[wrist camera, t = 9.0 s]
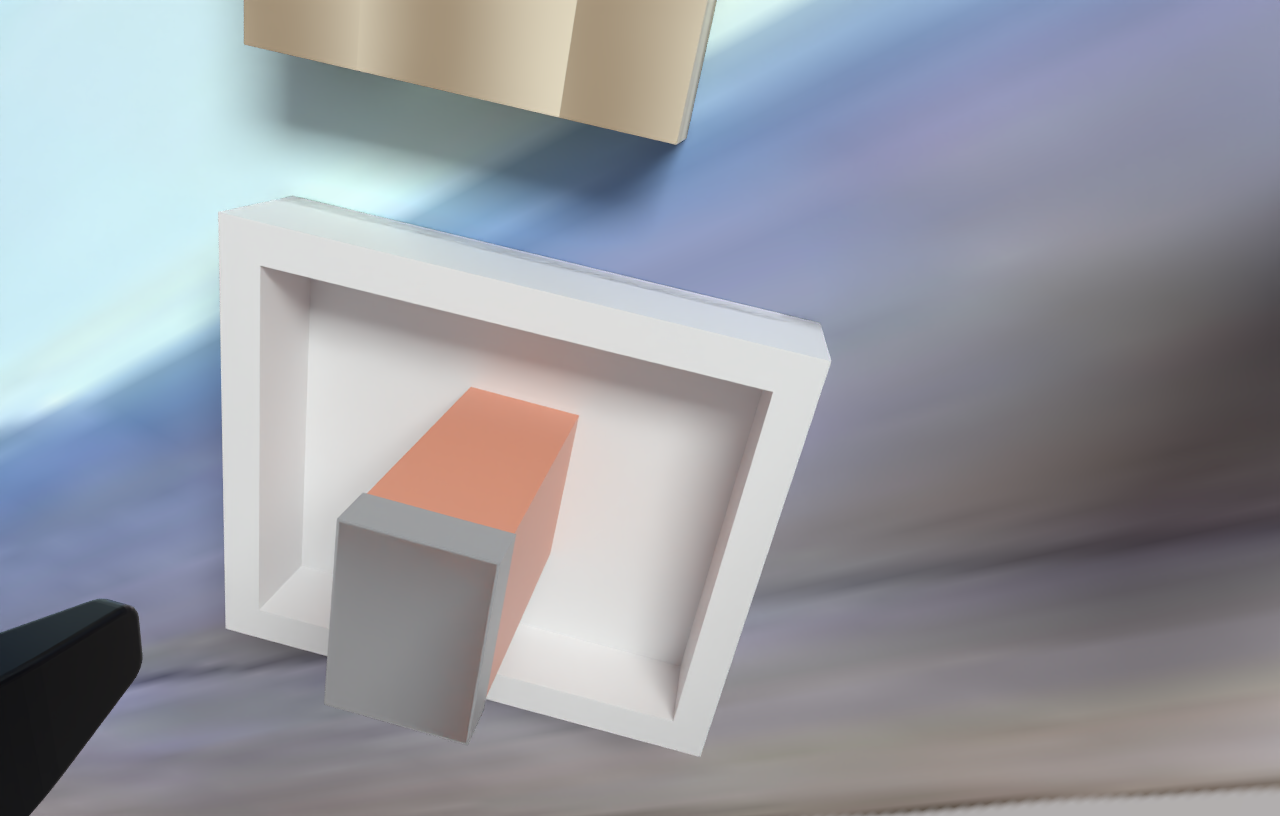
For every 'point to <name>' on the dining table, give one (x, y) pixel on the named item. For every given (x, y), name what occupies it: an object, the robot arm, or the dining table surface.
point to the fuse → (445, 564)
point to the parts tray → (530, 371)
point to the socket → (513, 52)
